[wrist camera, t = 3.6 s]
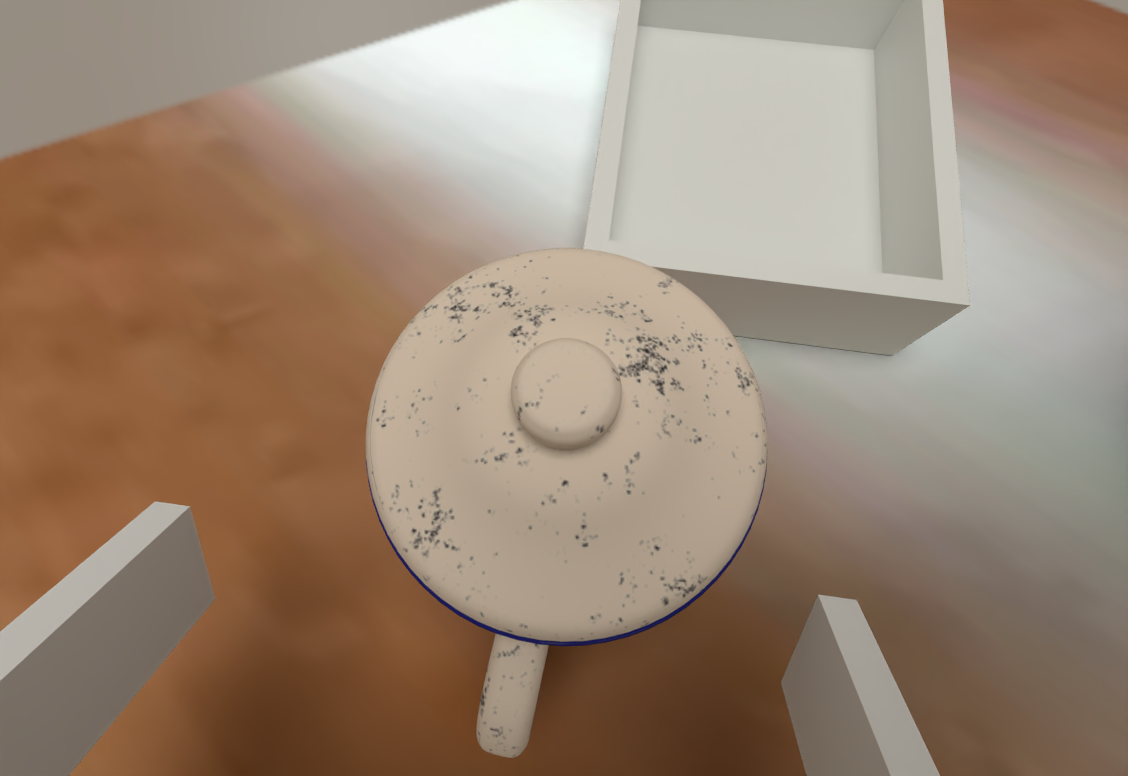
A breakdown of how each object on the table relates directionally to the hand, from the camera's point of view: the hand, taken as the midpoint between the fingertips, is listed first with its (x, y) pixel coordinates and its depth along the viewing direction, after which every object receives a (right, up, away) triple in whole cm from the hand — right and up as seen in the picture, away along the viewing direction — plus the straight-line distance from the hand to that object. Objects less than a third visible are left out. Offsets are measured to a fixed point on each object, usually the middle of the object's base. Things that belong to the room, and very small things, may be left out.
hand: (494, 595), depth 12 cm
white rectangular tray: (+9, +14, +13) cm, 21 cm away
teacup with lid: (+1, 0, +9) cm, 9 cm away
